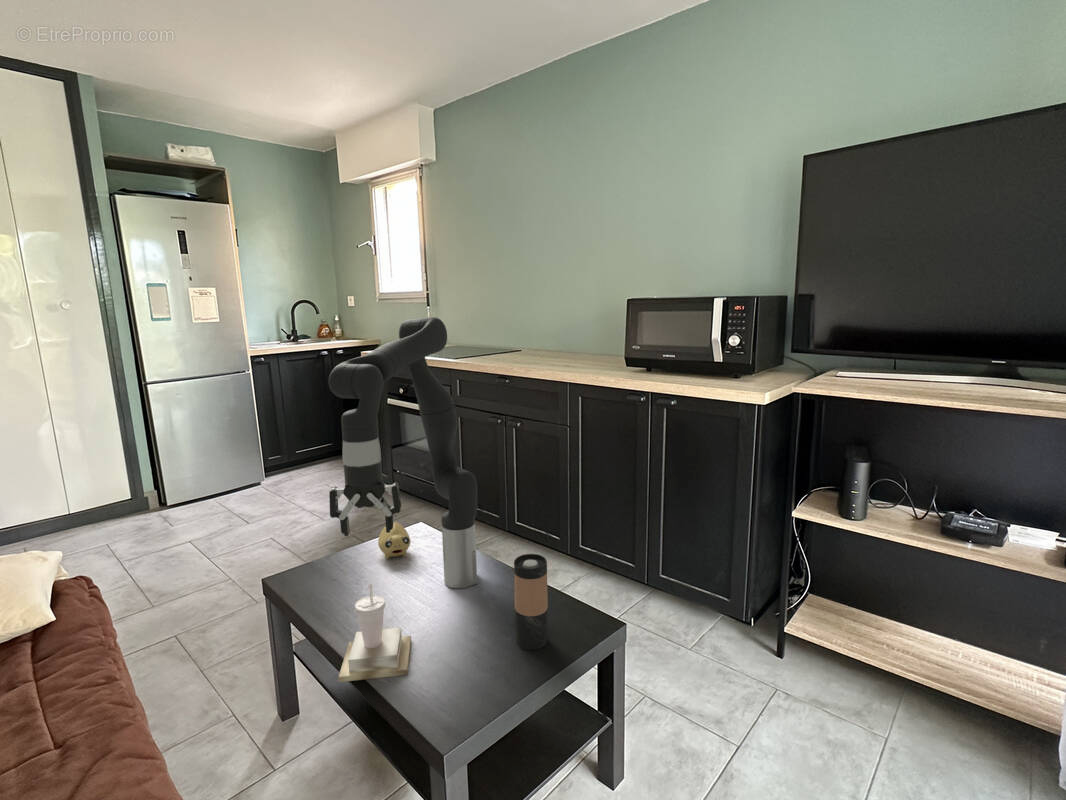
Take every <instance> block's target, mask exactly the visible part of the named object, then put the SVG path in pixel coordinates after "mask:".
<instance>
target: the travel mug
mask: <svg viewBox="0 0 1066 800" xmlns="http://www.w3.org/2000/svg"><path fill="white" fill-rule="evenodd" d="M513 569H514V570H513V573H514V576H513V577H514V579H513V580H514V584H513V585H514V619H515V633H516V634H515V635H516V644H517V643H518V644H517V645H518V646H519V647H520V648H521V649H523V648H524V649H523V650H526V649H528V650H527V651H534V650H533V649H537V650H540V649H542V648H544V647H545V646H546V645H547V643H546V642H548V622H549V621H548V617H549V613H548V612H549V606H548V605H549V603H548V598H549V597H548V561H547V558H546V557H544V556H542V555H540V554H535V553H527V554H522V555H519V556H518V557H516V558H515V559H514V562H513ZM544 645H545V646H544ZM543 646H544V647H543ZM541 647H542V648H541ZM539 648H540V649H539ZM530 649H531V650H530Z"/></svg>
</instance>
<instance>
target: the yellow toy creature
mask: <svg viewBox="0 0 1066 800" xmlns="http://www.w3.org/2000/svg"><path fill="white" fill-rule="evenodd" d="M393 523H394V525H393V529H392V530H390V533H386V525H385V526H384V527H383V529H381V531H380V534H379V536H378V540H377V544H378V547H379V550H380V551H381V552H382V554H384V558H385V559H390V557H391V558H392V557H393V558H395V557H399V556H403V557H404V556H406V554H407V551H408V549H409V547H410V545H411V538H410V535H409V533H408V531H407V530H406V528H405V527H404V526H403V525H402V524H401V523H399V522H397V521H393Z"/></svg>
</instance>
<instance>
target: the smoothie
mask: <svg viewBox="0 0 1066 800" xmlns="http://www.w3.org/2000/svg"><path fill="white" fill-rule="evenodd" d="M368 585H369V586H368V587H369V596H367V595H366V596H363V597H362V598H360V599H359V600H357V601H356V602H355V604H354V611H355V613H356V614H357V618H358V623H359V627H360V632H362V637H363V641H364V646H365V647H366V648H375V647H378V646H379V645H380V644H381V642H382V629H384V628H383V626H384V613H385V610H384V609H385V607H386V600H385V598H384V597H382V596H380V595H373V594H374V593H373V583H372V582H369V583H368Z"/></svg>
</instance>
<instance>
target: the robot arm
mask: <svg viewBox="0 0 1066 800" xmlns="http://www.w3.org/2000/svg"><path fill="white" fill-rule="evenodd" d="M447 342H448V332H447V328H446V325H445V323H444V321H442V320H441V319H440V318H439V317H436V316H435V317H434V316H428V317H419V318H412V319H406V320H403V321H402V322H400V325H399V327H398V339H396V340H393V341H390V342H387V343H384V344H383V345H381V346H378V347H376V348H375V349H374V350H372V351H370V352H369V353H367V354H365V355H361V356H358V357H354V358H351V359H347V360H346V361H343V362H341V363H338V364H337V365H336V366H335V367H334V368H333V369H332V370H331V372H330V373H329V376H328V387H329V390H330V392H331V393H332V394H334V395H335V396H336V397H338V398H341V399H359V400H358V401H359V402H358V405H357V406H358V407H356V408H354V409H349V410H347V411H345V412H343V414H342V415H341V418H340V419H341V421H340V422H341V432H342V433H341V435H342V462H343V474H344V488H343V487H342V488H341V487H340V488H339V487H337V486H333V487H332V488H331V489H330V491H329V494H328V495H329V517H330V518H332V519H334V518H336V519H339V523H340V532H341V534H344V537H348V536H349V535H350V533H351V530H350V516H349V513H350V512H351V511H352V510H353V508H354V507H355V508H357V509H362V508H365V507H366V508H373V507H374V506H376V508H378V510H380V511H382V512H383V514H384V515H385V516H384V517H385V518H384V519H385V526H386V533H390V530H392V529H393V525H394V523H393V522H394V515H395V514H399V513H400V512H401V509H402V502H401V495H400V488H399V483H398V482H393V484H387V485H385V484H384V481H383V468H382V467H383V465H382V452H381V445H380V444H381V443H380V439H379V429H378V427H379V425H378V416H379V410H380V404H381V400H382V399H381V398H382V396H383V395H382V394H383V391H384V383H385V382H387V381H388V380H389V381H390V379H392V378H393V377H394V376H396V375H397V374H398V373H400V372H401V371H404V369H406V368H408V372H409V374H410V376H411V380H412V383H413V385H412V386H413V389H414V391H415V396H416V400H417V405H418V410H419V415H420V418H421V423H422V427H423V430H424V433H425V438H426V443H427V447H428V450H429V455H430V461H431V467H432V477H433V483H434V489H435V490H436V492H437V494H438V496H439V495H440V496H441V497H442V498H444V499H446V500H448V510H447V511H445V512H444V513H443V514H442V516H441V537H442V539H441V540H442V555H443V557H442V558H443V559H442V560H443V577H444V580H443V581H444V584H445V585H446V586H447V587H448V588H451V589H466V588H469V587H471V586H474V585H478V564H477V548H476V523H475V521H476V516H477V512H478V498H479V497H478V496H479V495H478V491H479V490H478V488H479V487H478V482H477V478H476V476H475V475H474V473H472V472H471V471H469V470H466V469H463V468H461V467H459V465H458V461H457V458H456V453H455V448H454V444H455V438H456V436H457V431H458V430H457V429H458V417H457V411H456V408H455V404H454V399H453V396H452V395H451V394H450V392H449V391H448V390H447V388H445V386H444V385H443V384H442V382H440V381H439V380H438V378H436V376H435V375H434V374H433V372H432V371H431V369H430V368H429V365H428V362H427V360H426V357H429V356H430V355H431V356H432V355H434V354H436V353H440V352H441V351H442V350H444V348H445V347H446V345H447ZM385 492H387V493H388V495H389V496H391V497H392V504H393V505H392V506H391V504H389V503H388V501H387V499H385V498H384V497H383V495H384V494H385ZM342 495H344V497H346V499H347V500H348V502H347V504H346V505H345V507H344V508H343V509H342V510H341V509H339V499H341V496H342Z"/></svg>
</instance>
